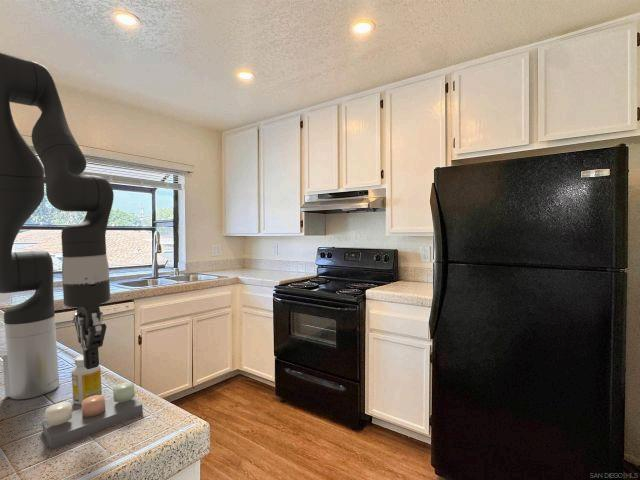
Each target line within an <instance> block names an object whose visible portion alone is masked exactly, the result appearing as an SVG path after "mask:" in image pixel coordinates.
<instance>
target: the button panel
mask: <svg viewBox="0 0 640 480" xmlns="http://www.w3.org/2000/svg"><path fill="white" fill-rule="evenodd" d="M143 411H144V409H143V403H141V402H140V401H139V400H138V399H137V398H135V396H134V397H133V398H132V399H130V400H128V401H124V402H115V401H114V397H112V398H108V399H105V411H103V412H102V413H100V414H98V415H95V416H91V417H84V416H83V415H82V407H81V408H79V409H76V410H72V418H71V419H70V420H69V421H67V422H65V423H62V424H59V425H55V426H48V425H47V424H46V420H43V421H42V422H41V423H42V424H41V429H42V434H43V435H44V437H45V439H46V442H47V444H48V445H49V448H50V449H51V450H54V449H57V448H59V447H62V446H64V445H66V444H69V443H72V442H75V441H78V440H79V439H83V438H85V437H88V436H89V435H92V434H95V433H97V432H100V431H103V430H106V429H107V428H111V427H113V426H115V425H118V424H120V423H122V422H125V421H128V420H131V419H134V418H136V417H139V416H141V415H143V414H144V412H143Z"/></svg>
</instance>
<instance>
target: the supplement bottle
mask: <svg viewBox="0 0 640 480" xmlns="http://www.w3.org/2000/svg"><path fill="white" fill-rule="evenodd" d="M74 366H75V367H73V368H72V371H71V382H72V383H71V384H72V400H73V403H74V404H76V405H82V401H83V400H84V399H86V398H88V397H91V396H95V395H103V394H102V391H103V390H102V373H101V371H102V370H101V365H100V364H99V366H98V367H95V368H92V369H86V368H85V367H84V357H83V354H82V355H79V356H77V357H75V358H74Z"/></svg>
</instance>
